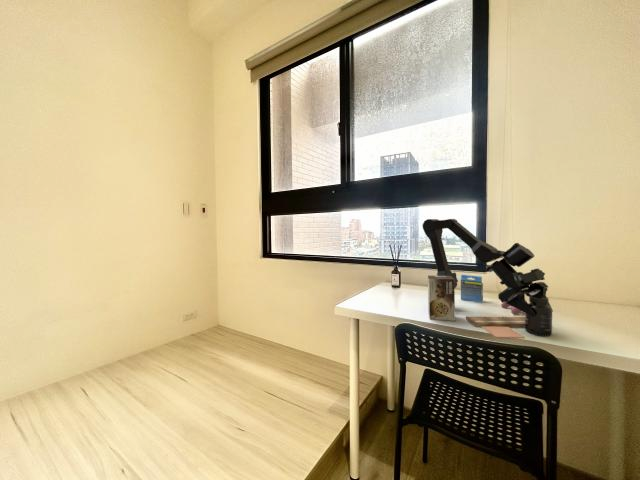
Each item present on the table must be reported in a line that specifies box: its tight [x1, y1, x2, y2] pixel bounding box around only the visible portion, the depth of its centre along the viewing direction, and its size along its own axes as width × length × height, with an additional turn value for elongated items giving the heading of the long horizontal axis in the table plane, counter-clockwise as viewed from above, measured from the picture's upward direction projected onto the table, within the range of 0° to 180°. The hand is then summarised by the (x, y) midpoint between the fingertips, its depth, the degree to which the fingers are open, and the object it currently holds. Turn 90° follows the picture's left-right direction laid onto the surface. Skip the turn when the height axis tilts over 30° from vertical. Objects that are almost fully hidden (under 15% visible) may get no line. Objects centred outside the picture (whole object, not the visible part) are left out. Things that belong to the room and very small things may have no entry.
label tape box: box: [460, 274, 484, 304], centre depth 122 cm, size 9×4×12 cm, turn 49°
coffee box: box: [427, 275, 456, 322], centre depth 101 cm, size 9×6×16 cm
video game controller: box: [501, 302, 523, 315], centre depth 107 cm, size 10×5×7 cm, turn 169°
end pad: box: [482, 326, 526, 339], centre depth 86 cm, size 9×9×1 cm
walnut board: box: [465, 315, 525, 328], centre depth 94 cm, size 24×7×1 cm, turn 84°
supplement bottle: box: [524, 295, 553, 337], centre depth 85 cm, size 7×7×12 cm
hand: (543, 314), depth 84 cm, fingers open, 9 cm apart
